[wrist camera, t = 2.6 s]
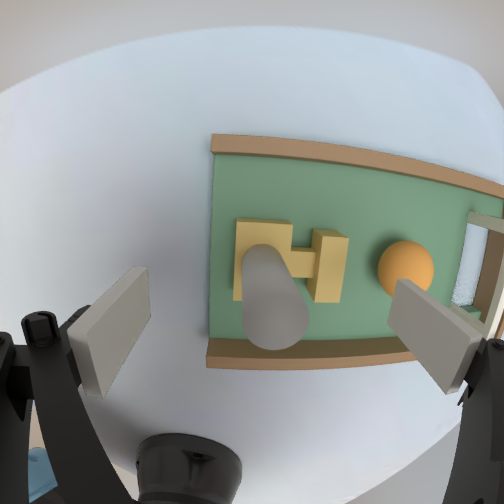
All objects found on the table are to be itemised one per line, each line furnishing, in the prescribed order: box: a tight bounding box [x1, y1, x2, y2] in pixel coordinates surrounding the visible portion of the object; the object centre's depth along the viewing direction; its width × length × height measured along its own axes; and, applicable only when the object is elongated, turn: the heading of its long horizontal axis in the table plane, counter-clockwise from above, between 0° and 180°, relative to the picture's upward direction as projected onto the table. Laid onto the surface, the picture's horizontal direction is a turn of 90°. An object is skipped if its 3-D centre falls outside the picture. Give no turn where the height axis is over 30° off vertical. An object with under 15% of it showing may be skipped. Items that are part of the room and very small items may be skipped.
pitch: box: [206, 134, 504, 370], centre depth 22 cm, size 32×18×9 cm, turn 86°
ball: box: [378, 240, 434, 297], centre depth 22 cm, size 5×5×5 cm
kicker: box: [233, 218, 349, 350], centre depth 18 cm, size 8×6×11 cm
